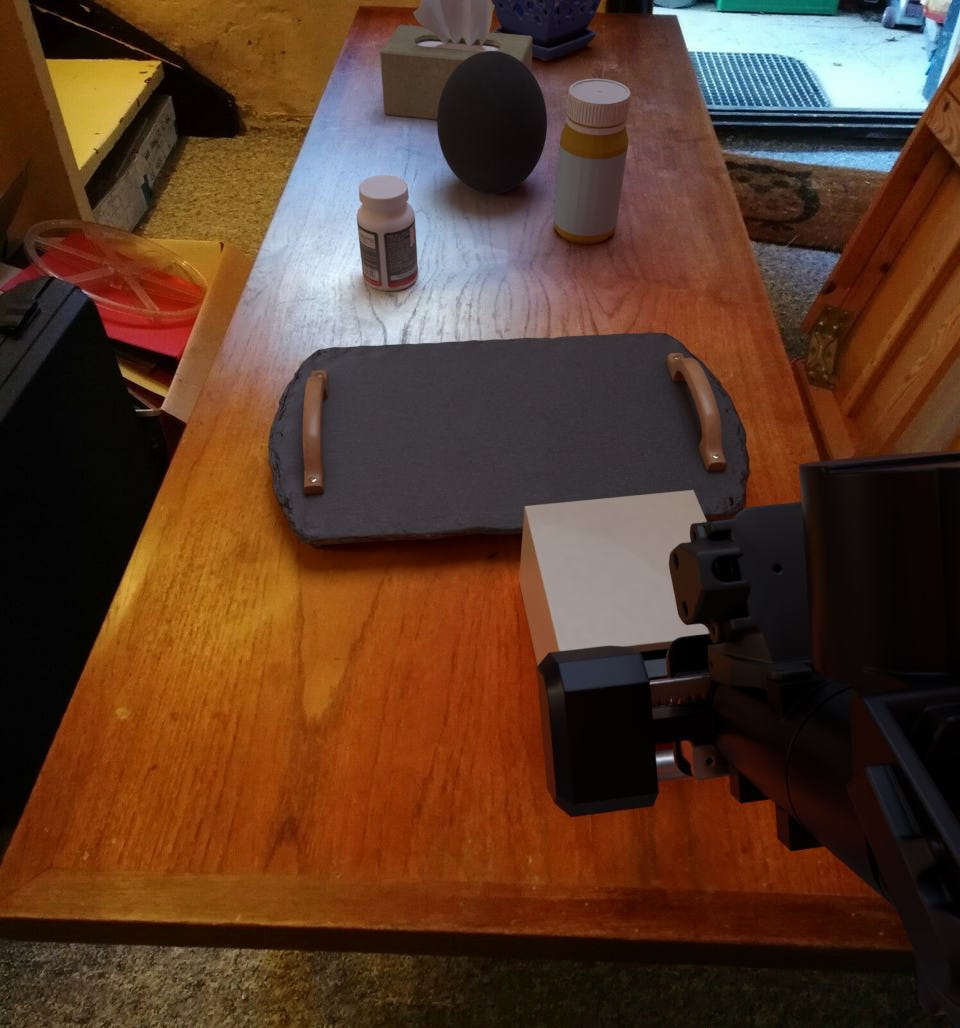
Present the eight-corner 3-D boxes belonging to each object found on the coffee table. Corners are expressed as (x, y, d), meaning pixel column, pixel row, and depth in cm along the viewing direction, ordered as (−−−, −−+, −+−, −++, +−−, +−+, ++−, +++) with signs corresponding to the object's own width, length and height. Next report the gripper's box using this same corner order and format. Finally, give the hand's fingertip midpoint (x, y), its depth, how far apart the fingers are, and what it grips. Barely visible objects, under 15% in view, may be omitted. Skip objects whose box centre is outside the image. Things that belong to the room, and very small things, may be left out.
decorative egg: (559, 203, 100) (571, 67, 89) (460, 222, 97) (459, 84, 85) (517, 157, 107) (523, 26, 96) (424, 173, 104) (419, 40, 93)
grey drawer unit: (723, 701, 56) (754, 631, 50) (549, 723, 55) (559, 654, 49) (672, 564, 64) (693, 489, 58) (518, 580, 63) (524, 505, 57)
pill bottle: (420, 263, 91) (416, 173, 83) (416, 293, 87) (411, 202, 80) (366, 261, 91) (357, 171, 84) (359, 292, 87) (349, 200, 80)
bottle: (545, 239, 94) (556, 99, 83) (561, 209, 99) (574, 72, 88) (607, 251, 93) (627, 110, 82) (621, 220, 97) (641, 82, 86)
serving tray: (696, 353, 81) (710, 297, 76) (775, 539, 66) (798, 483, 61) (282, 373, 78) (270, 316, 74) (262, 572, 63) (246, 516, 58)
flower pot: (539, 25, 138) (544, -62, 129) (604, 47, 132) (614, -42, 123) (482, 46, 132) (483, -43, 123) (548, 71, 126) (554, -21, 117)
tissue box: (381, 115, 115) (372, -18, 103) (400, 86, 121) (393, -43, 110) (520, 128, 113) (526, -6, 101) (531, 98, 119) (538, -32, 107)
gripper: (1122, 495, 28) (861, 485, 44) (567, 553, 26) (500, 520, 42) (1135, 823, 29) (874, 698, 44) (597, 903, 27) (520, 743, 43)
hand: (696, 661), depth 43 cm, fingers closed
